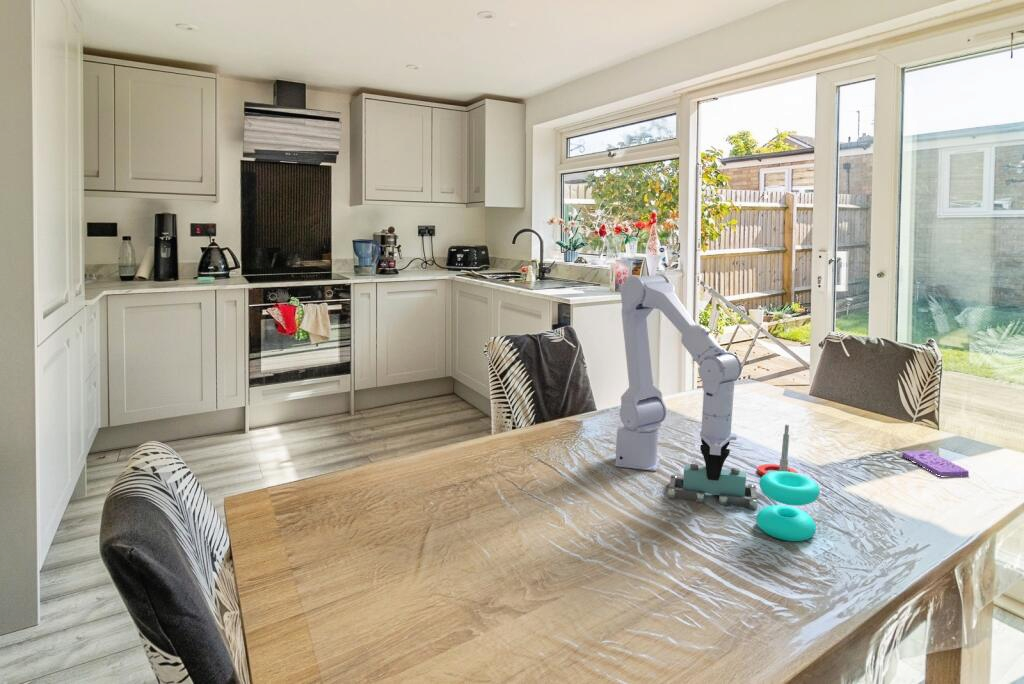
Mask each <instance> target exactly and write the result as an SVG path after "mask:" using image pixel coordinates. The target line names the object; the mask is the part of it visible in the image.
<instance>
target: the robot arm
mask: <svg viewBox="0 0 1024 684" xmlns="http://www.w3.org/2000/svg"><path fill="white" fill-rule="evenodd" d="M675 288H676V287H675V285H674V284H673V283H672V282H671V281H670V279H669V278H668V277H667V276H666V275H664V274H661V273H660V274H656V275H655V274H654V275H642V276H640V275H639V276H635V275H633V276H629V277H628V278H626V280H625V281H624V282H623V284H622V285H621V287H620V299H621V306H622V307H621V318H622V319H621V320H622V330H623V338H624V340H623V341H624V349H625V359H626V368H627V376H628V377H627V379H628V388H627V389H626V390H625V391H624V393H623V394H622V395H620V396H621V397H620V402H621V403H620V409H619V417H620V421H621V423H622V424H619V425H618V426H617V431H616V438H615V439H616V440H615V443H616V445H615V463H614V466H615V467H619V468H627V469H628V468H629V469H637V470H645V471H653V472H656V471H658V467H659V463H660V458H661V457H660V456H658V446H659V445H658V443H659V441H658V440H659V428H661V424H662V422H664V420H665V419H666V417H667V406H666V403H665V402H664V400H663V393H662V391H661V390H660V389H658V388H657V387H656V386H655V385H654V380H653V370H652V369H653V368H652V362H651V360H652V359H651V351H650V341H649V331H648V323H647V322H648V321H647V318H648V316H649V315H650V314H651V312H652V311H653V310H654V309H655V310H656V309H657V310H660V312H662V314H663V315H664V316H665V317H666V318H667V319H668V320H669V321H670V323H671V324H672V325H673V326H674V327H675V328H676V329H677V331H678V332H680V334H681V339H680V340H681V341H680V342H681V344H682V345H683V346H684V348H685V349H686V351H687V352H688V354H690V356H691V357H692V358H693V359H694V361H695V362H696V363H697V365H698V366H699V367H698V368H697V372H698V376H699V378H700V380H701V385H702V386H701V388H702V390H703V395H702V396H703V397H702V413H701V430H700V432H699V437H700V442H701V444H700V446H699V448H700V452H701V454H702V457H703V460H704V464H705V467H706V474H707V478H708V480H716V481H718V480H719V477H720V474H721V470H722V469H723V467H724V464H725V461H726V459H727V458H728V457H729V455H730V453H731V450H730V449H729V448H728V446H729V445H730V443H731V442H730V441H736V440H738V439H737V437H738V435H737V434H736V433H732V422H733V408H734V394H735V393H734V392H735V380H738V379H739V378H740V377H741V374H742V362H741V361H740V359H739V357H738V355H737V354H735V353H734V352H730V351H727V350H726V349H725V348H724V347H723V346H721V345H720V343H719V342H718V341H717V339H715V337H714V336H713V335H712V333H711V332H712V331H711V329H710V328H709V327H708V326H707V327H706V326H705V325H702V324H697V323H695V320H693V318H692V317H691V315H690V314H689V312H688V311H687V309H686V308H685V306H684V305H683V304H682V301H681V300H680V299H679V297H678V296H677V295H676V291H675V290H676V289H675Z"/></svg>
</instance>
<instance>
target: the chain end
mask: <svg viewBox="0 0 1024 684" xmlns="http://www.w3.org/2000/svg"><path fill="white" fill-rule="evenodd" d="M683 479H684V477H679V475H677V474H671V475H670V479H669V486H668V489H667V499H669V500H676V499H682V500H690V501H695V502H696V503H698V504H704V503H705V496H706V493H704V491H699V490H692V489H684V488H683Z"/></svg>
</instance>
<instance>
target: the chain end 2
mask: <svg viewBox="0 0 1024 684" xmlns="http://www.w3.org/2000/svg"><path fill="white" fill-rule="evenodd" d="M756 489H757V487H756V484H751V483H750V484H749V483H748V484H745V496H738V495H731V494H723V493H720V495H718V496H719V498H718V505H719V506H722V507H727V506H734V507H735V506H737V507H742V508H748V509H749V510H751V511H757V510H758V502H759V500H758V496H757V495H758V494H757V490H756Z"/></svg>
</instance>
